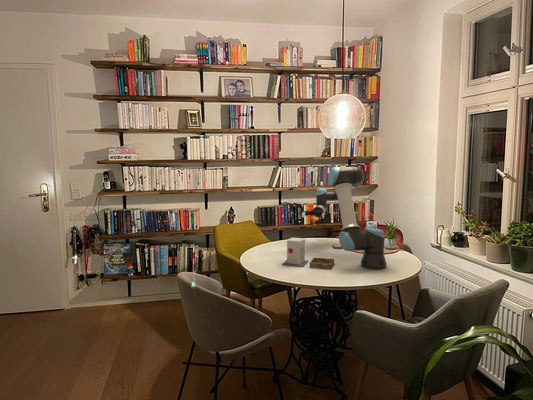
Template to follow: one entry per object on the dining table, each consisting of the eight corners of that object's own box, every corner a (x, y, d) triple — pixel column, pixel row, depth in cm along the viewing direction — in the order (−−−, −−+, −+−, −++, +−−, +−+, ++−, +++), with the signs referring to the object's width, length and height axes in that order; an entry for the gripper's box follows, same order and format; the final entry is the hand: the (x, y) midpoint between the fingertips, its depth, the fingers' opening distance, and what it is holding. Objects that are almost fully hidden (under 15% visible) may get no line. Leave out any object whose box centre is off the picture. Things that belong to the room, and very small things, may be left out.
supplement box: (286, 263, 235) (286, 239, 233) (291, 259, 243) (291, 237, 241) (300, 265, 231) (300, 241, 229) (305, 261, 239) (305, 238, 237)
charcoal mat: (308, 261, 241) (308, 260, 241) (303, 267, 229) (303, 266, 229) (287, 259, 245) (287, 258, 245) (281, 265, 233) (281, 264, 233)
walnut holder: (334, 263, 235) (334, 258, 235) (330, 269, 223) (331, 264, 223) (314, 261, 240) (314, 257, 239) (309, 267, 228) (309, 262, 227)
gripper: (336, 217, 264) (331, 222, 244) (301, 215, 272) (294, 220, 252) (336, 206, 263) (331, 210, 243) (301, 205, 271) (294, 209, 251)
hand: (312, 215), depth 248 cm, fingers open, 13 cm apart
